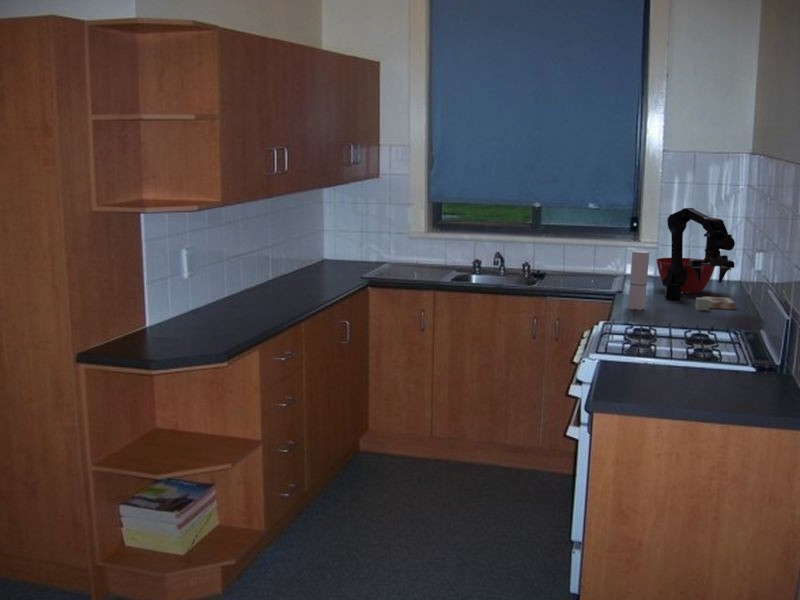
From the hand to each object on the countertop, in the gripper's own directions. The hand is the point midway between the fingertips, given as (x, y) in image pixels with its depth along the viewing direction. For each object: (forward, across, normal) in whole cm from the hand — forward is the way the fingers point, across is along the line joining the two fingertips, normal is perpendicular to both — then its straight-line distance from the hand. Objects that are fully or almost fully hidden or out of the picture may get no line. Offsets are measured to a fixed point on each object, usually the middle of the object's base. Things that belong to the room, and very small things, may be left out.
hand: (709, 282), depth 395 cm
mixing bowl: (+12, +4, +44) cm, 46 cm away
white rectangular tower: (+12, -33, -4) cm, 35 cm away
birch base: (+12, +7, +7) cm, 15 cm away
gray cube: (+12, -3, -2) cm, 12 cm away
